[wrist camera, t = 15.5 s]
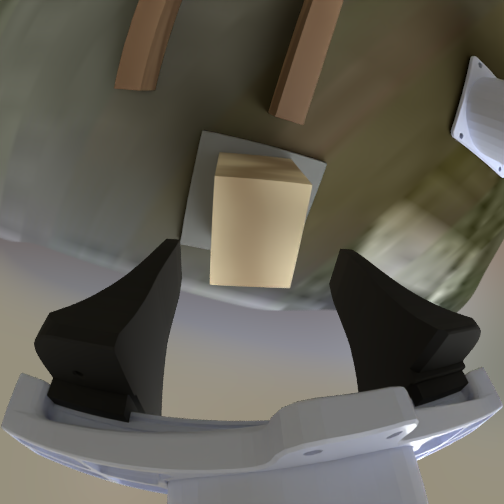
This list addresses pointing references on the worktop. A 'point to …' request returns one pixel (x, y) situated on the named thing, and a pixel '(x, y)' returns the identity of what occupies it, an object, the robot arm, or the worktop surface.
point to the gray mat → (202, 182)
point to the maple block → (257, 220)
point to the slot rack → (292, 73)
